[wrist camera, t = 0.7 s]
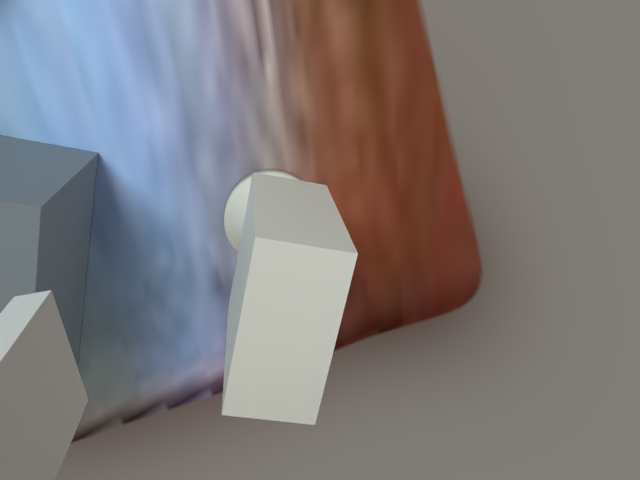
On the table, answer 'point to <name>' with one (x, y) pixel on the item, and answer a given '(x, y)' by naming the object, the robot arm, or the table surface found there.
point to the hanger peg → (283, 295)
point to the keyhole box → (46, 225)
